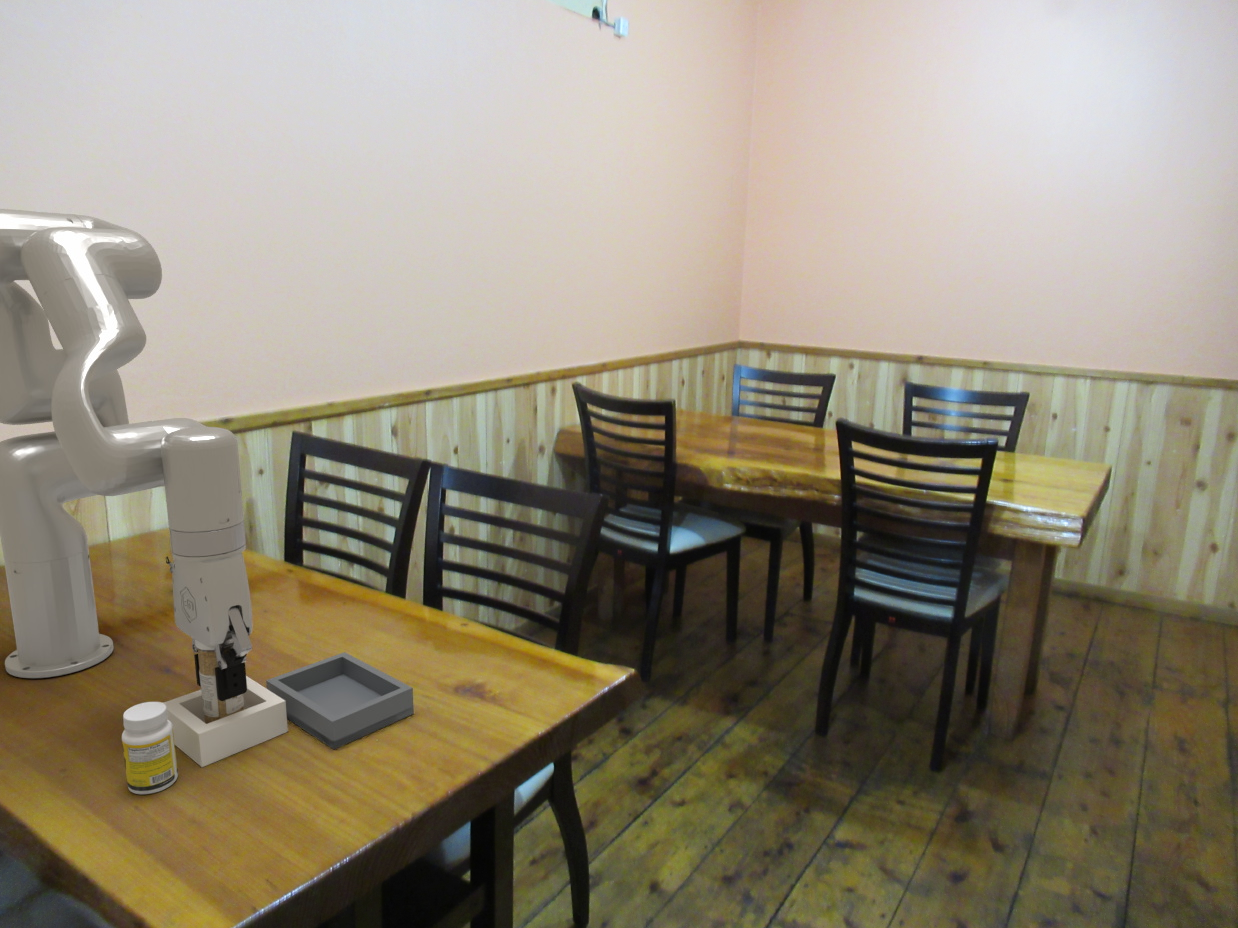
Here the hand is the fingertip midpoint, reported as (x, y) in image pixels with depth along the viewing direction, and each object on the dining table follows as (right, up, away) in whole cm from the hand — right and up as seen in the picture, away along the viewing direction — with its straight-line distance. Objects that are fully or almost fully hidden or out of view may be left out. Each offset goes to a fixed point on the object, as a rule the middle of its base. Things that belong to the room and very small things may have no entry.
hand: (222, 687), depth 98 cm
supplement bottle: (-3, -8, -8) cm, 12 cm away
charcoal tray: (+11, -5, +7) cm, 14 cm away
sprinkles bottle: (0, -6, +1) cm, 6 cm away
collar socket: (0, -6, +1) cm, 6 cm away
